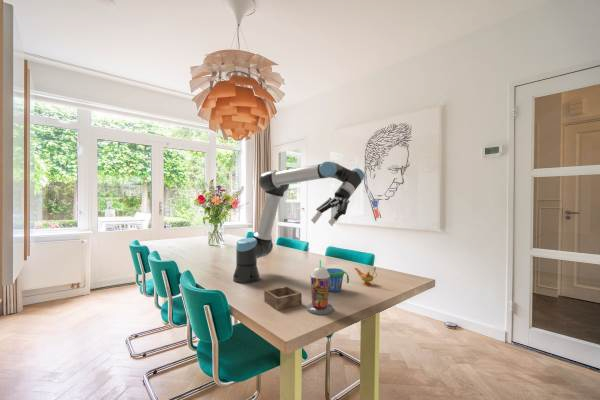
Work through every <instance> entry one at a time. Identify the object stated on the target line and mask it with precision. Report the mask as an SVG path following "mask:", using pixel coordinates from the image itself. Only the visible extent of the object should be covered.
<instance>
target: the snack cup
mask: <svg viewBox="0 0 600 400" xmlns="http://www.w3.org/2000/svg"><path fill="white" fill-rule="evenodd" d="M325 269H326V270H327V271H328V273H329V275H330V280H329V293H338V292H340V291H341V290H342V287H343V281H344V280H343V278H344V274H346V284H349V283H350V278H349V273H348V272H346V271H345V270H344V269H341V268H334V267H331V268H325Z"/></svg>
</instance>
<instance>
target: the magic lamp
mask: <svg viewBox="0 0 600 400" xmlns="http://www.w3.org/2000/svg"><path fill="white" fill-rule="evenodd" d="M354 270H355V271H356V273H357V275H358V276H359V278H360V279H361V280H362V281H364V282H363V283H362V285H363V286H366V287H369V286H372V283H371V282H373V281H374V279H375V278H376V277H378V276H377V274H378V273H377V272H376V270H377V267H376V266H375V267H373V271H374V272H373V273H372V275H371V273H370V271H367V272H366V273H363V272H362V271H361V270H360V269H359V268H357V267H355V268H354ZM374 275H375V276H374Z"/></svg>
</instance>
